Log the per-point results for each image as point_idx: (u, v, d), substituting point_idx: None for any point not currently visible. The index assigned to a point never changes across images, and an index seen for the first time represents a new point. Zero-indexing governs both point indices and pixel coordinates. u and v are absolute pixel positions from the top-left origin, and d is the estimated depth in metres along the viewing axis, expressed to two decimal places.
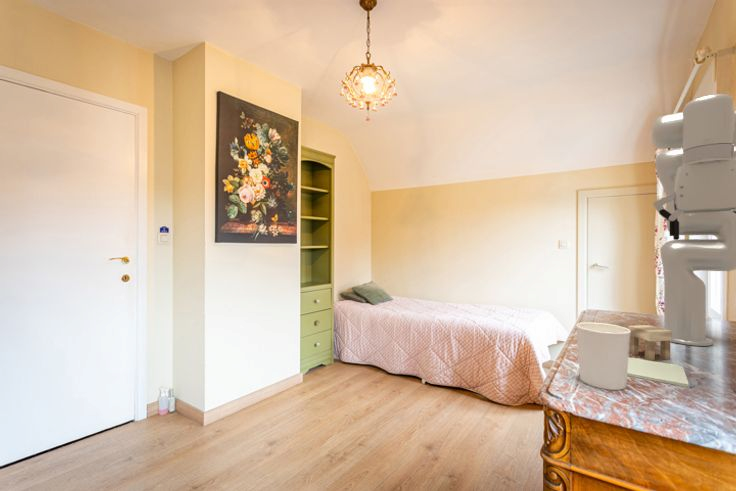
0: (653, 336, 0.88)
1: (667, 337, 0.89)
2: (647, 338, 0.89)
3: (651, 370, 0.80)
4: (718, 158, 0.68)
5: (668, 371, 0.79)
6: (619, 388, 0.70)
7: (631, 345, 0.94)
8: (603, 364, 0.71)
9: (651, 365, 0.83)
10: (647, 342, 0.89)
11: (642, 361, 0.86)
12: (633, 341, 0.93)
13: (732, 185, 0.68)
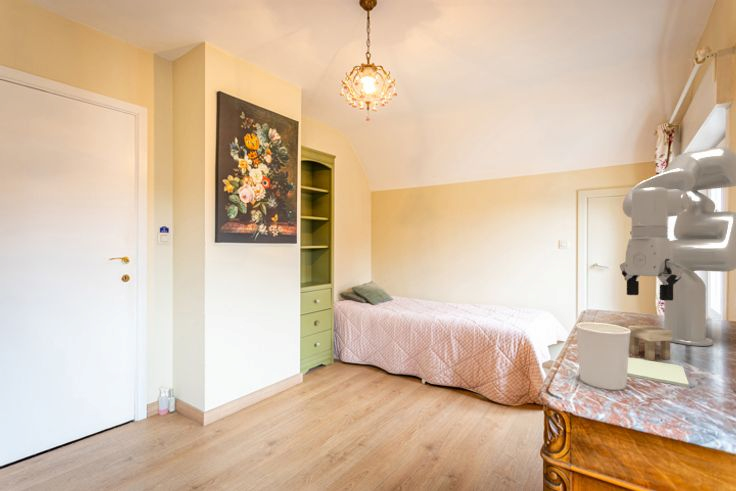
0: (653, 336, 0.88)
1: (667, 337, 0.89)
2: (647, 338, 0.89)
3: (651, 370, 0.80)
4: None
5: (668, 371, 0.79)
6: (619, 388, 0.70)
7: (631, 345, 0.94)
8: (603, 364, 0.71)
9: (651, 365, 0.83)
10: (647, 342, 0.89)
11: (642, 361, 0.86)
12: (633, 341, 0.93)
13: None
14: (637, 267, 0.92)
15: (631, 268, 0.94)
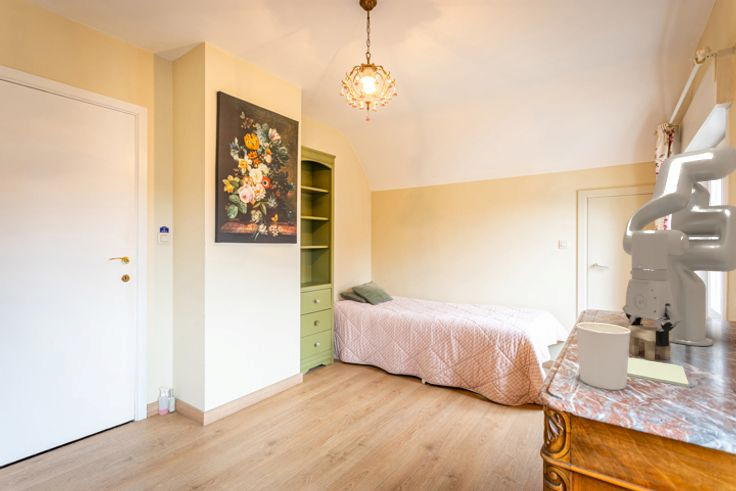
0: (653, 336, 0.88)
1: None
2: (647, 338, 0.89)
3: (651, 370, 0.80)
4: None
5: (668, 371, 0.79)
6: (619, 388, 0.70)
7: (631, 345, 0.94)
8: (603, 364, 0.71)
9: (651, 365, 0.83)
10: (647, 342, 0.89)
11: (642, 361, 0.86)
12: (633, 341, 0.93)
13: None
14: (637, 308, 0.92)
15: (631, 309, 0.94)
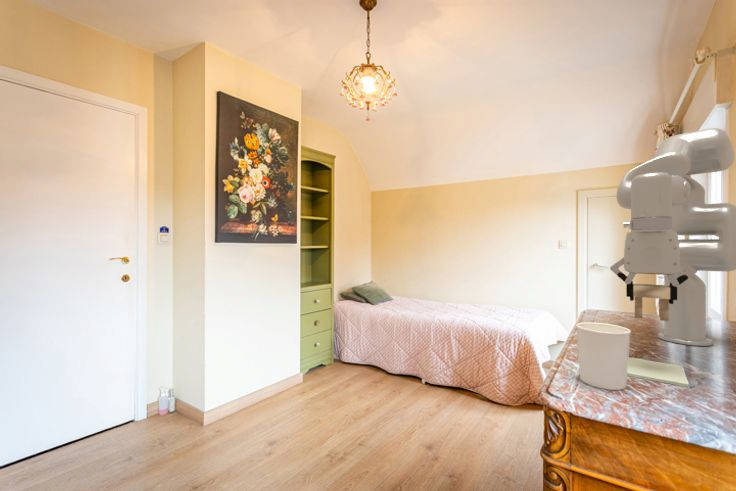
0: (669, 293, 0.77)
1: None
2: (666, 296, 0.77)
3: (651, 370, 0.80)
4: None
5: (668, 371, 0.79)
6: (619, 388, 0.70)
7: (638, 308, 0.80)
8: (603, 364, 0.71)
9: (651, 365, 0.83)
10: (664, 301, 0.77)
11: (642, 361, 0.86)
12: (641, 303, 0.79)
13: None
14: (648, 264, 0.79)
15: (637, 266, 0.80)
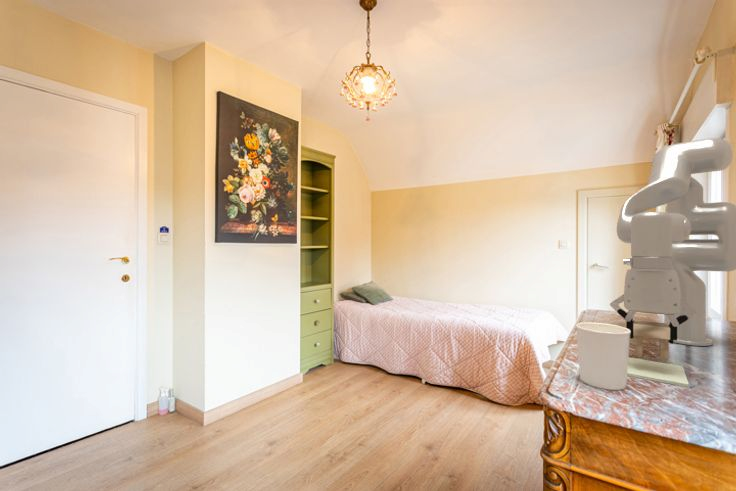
0: (669, 333, 0.77)
1: None
2: (666, 336, 0.76)
3: (651, 370, 0.80)
4: None
5: (668, 371, 0.79)
6: (619, 388, 0.70)
7: (638, 347, 0.80)
8: (603, 364, 0.71)
9: (651, 365, 0.83)
10: (664, 341, 0.77)
11: (642, 361, 0.86)
12: (641, 342, 0.79)
13: None
14: (648, 303, 0.79)
15: (637, 304, 0.80)
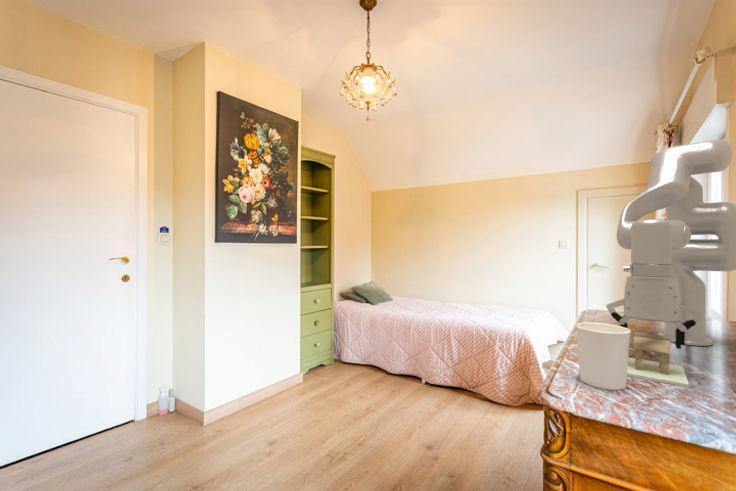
0: None
1: None
2: (666, 350, 0.77)
3: (651, 370, 0.80)
4: None
5: None
6: (619, 388, 0.70)
7: (638, 360, 0.80)
8: (603, 364, 0.71)
9: (651, 365, 0.83)
10: (665, 355, 0.77)
11: None
12: (641, 355, 0.80)
13: None
14: (648, 311, 0.79)
15: (637, 312, 0.80)
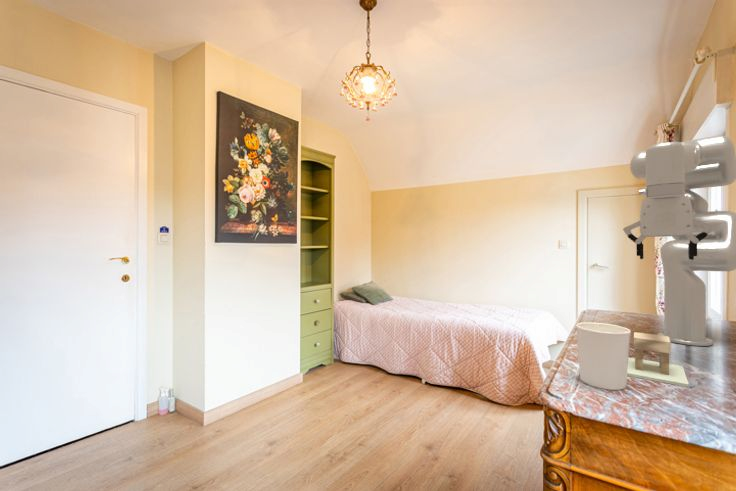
0: None
1: None
2: (666, 350, 0.77)
3: (651, 370, 0.80)
4: None
5: None
6: (619, 388, 0.70)
7: (638, 360, 0.80)
8: (603, 364, 0.71)
9: (651, 365, 0.83)
10: (665, 355, 0.77)
11: None
12: (641, 355, 0.80)
13: None
14: (662, 227, 0.86)
15: (653, 230, 0.87)
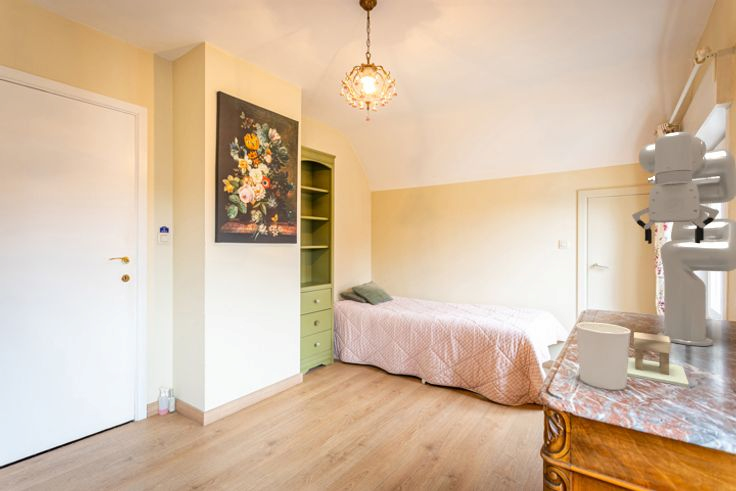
0: None
1: None
2: (666, 350, 0.77)
3: (651, 370, 0.80)
4: None
5: None
6: (619, 388, 0.70)
7: (638, 360, 0.80)
8: (603, 364, 0.71)
9: (651, 365, 0.83)
10: (665, 355, 0.77)
11: None
12: (641, 355, 0.80)
13: None
14: (670, 212, 0.90)
15: (661, 215, 0.91)
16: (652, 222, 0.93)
